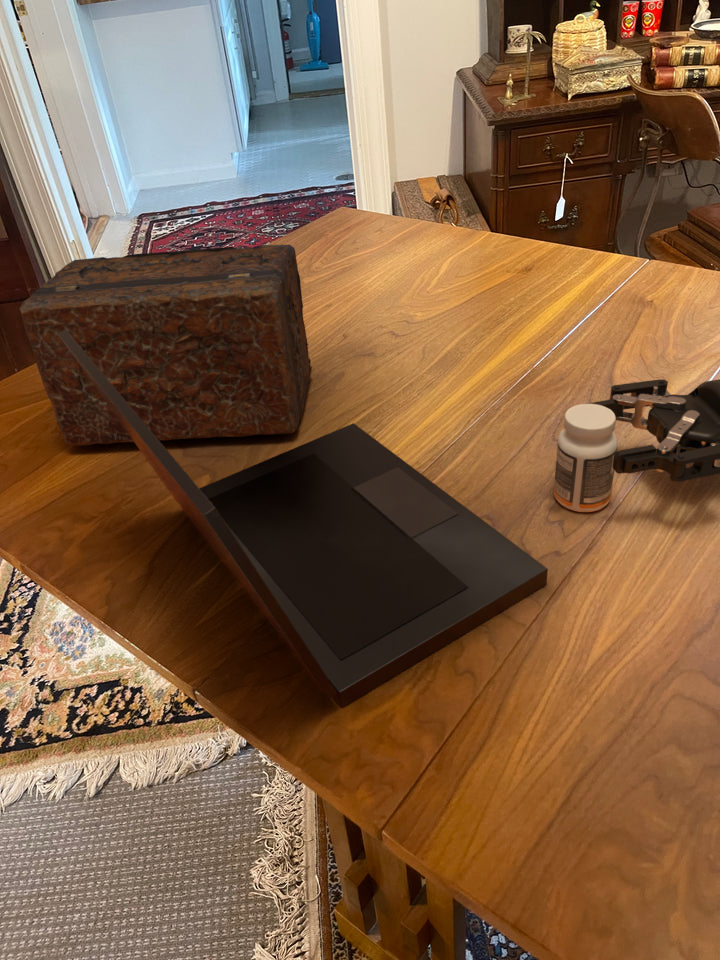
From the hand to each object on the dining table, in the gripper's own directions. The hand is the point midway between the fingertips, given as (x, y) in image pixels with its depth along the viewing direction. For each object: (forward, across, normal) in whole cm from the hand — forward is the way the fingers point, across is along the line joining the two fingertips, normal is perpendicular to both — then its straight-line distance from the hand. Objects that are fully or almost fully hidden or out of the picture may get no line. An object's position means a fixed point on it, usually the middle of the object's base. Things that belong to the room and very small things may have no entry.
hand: (595, 438), depth 72 cm
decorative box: (+41, -30, +7) cm, 51 cm away
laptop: (+25, +1, +7) cm, 26 cm away
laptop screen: (+38, +7, -6) cm, 39 cm away
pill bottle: (+1, 0, +7) cm, 7 cm away
